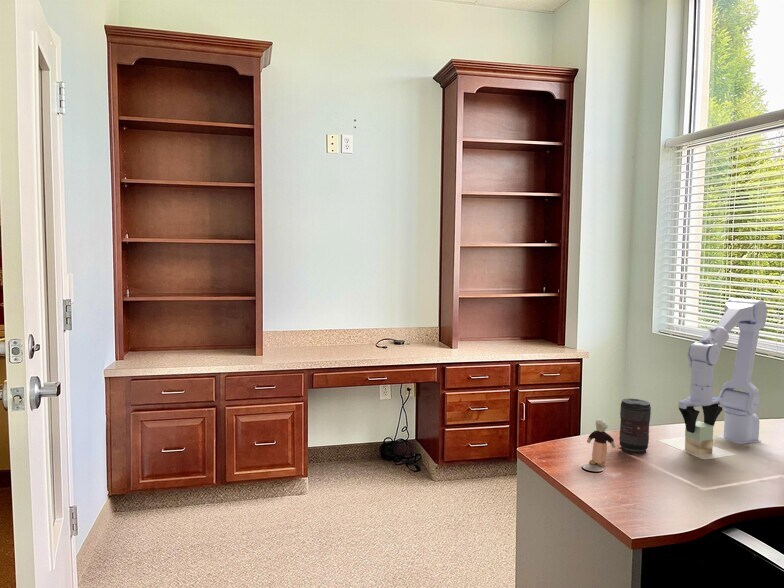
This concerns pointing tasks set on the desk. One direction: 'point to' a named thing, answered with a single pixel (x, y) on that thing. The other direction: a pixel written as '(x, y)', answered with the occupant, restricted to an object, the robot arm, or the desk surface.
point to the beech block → (698, 446)
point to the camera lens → (634, 426)
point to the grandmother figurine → (600, 443)
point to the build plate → (680, 445)
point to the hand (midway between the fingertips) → (699, 430)
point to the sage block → (701, 432)
